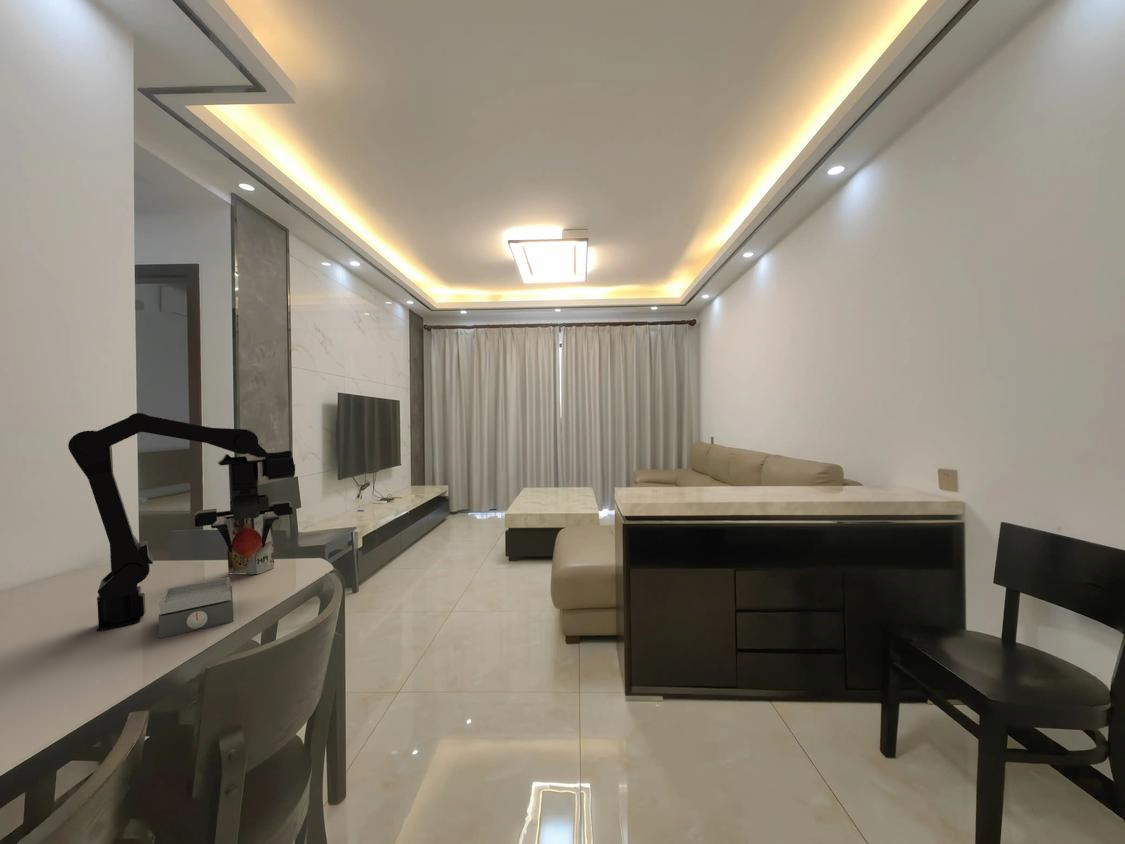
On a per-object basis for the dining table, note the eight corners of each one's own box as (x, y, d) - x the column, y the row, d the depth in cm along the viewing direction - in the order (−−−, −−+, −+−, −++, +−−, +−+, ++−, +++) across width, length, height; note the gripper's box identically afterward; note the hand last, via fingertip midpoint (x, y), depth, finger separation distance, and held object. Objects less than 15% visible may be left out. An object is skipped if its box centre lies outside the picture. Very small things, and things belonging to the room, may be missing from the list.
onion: (238, 563, 109) (236, 528, 108) (228, 559, 112) (227, 525, 112) (266, 556, 113) (265, 522, 113) (256, 553, 117) (255, 520, 117)
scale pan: (160, 614, 90) (159, 605, 90) (165, 597, 99) (165, 588, 99) (231, 599, 97) (230, 590, 97) (230, 584, 106) (229, 576, 106)
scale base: (158, 639, 90) (157, 618, 90) (165, 618, 100) (164, 599, 99) (233, 622, 96) (232, 602, 96) (232, 603, 106) (231, 585, 106)
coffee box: (275, 567, 132) (273, 508, 132) (256, 575, 126) (253, 513, 125) (247, 566, 134) (244, 508, 133) (226, 574, 127) (223, 513, 127)
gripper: (191, 491, 100) (195, 566, 101) (293, 481, 111) (296, 549, 111) (194, 486, 109) (197, 554, 110) (288, 477, 120) (291, 539, 120)
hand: (247, 549), depth 113 cm, fingers closed on onion, 6 cm apart
